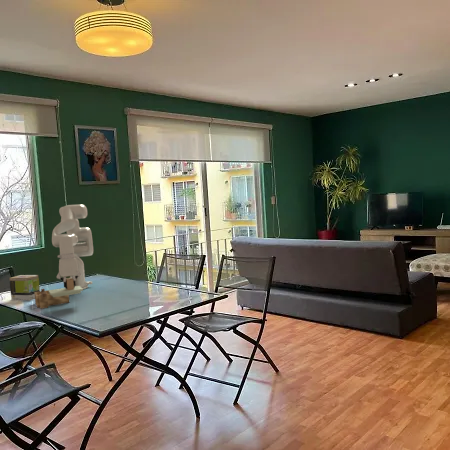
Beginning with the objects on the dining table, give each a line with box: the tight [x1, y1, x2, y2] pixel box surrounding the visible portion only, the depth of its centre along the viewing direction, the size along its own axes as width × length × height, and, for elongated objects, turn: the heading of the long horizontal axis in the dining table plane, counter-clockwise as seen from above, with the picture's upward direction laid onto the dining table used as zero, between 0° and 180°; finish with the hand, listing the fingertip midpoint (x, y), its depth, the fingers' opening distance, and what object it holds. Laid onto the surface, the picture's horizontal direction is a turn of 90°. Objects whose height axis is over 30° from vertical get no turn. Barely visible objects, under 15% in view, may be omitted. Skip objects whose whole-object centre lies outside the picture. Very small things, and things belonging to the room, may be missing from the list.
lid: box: [48, 277, 84, 297], centre depth 258 cm, size 18×12×8 cm, turn 118°
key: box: [40, 288, 47, 297], centre depth 257 cm, size 2×10×3 cm, turn 28°
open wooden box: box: [34, 289, 70, 309], centre depth 270 cm, size 18×16×8 cm
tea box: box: [8, 274, 41, 301], centre depth 287 cm, size 15×10×15 cm, turn 71°
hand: (69, 287), depth 260 cm, fingers closed on lid, 3 cm apart
